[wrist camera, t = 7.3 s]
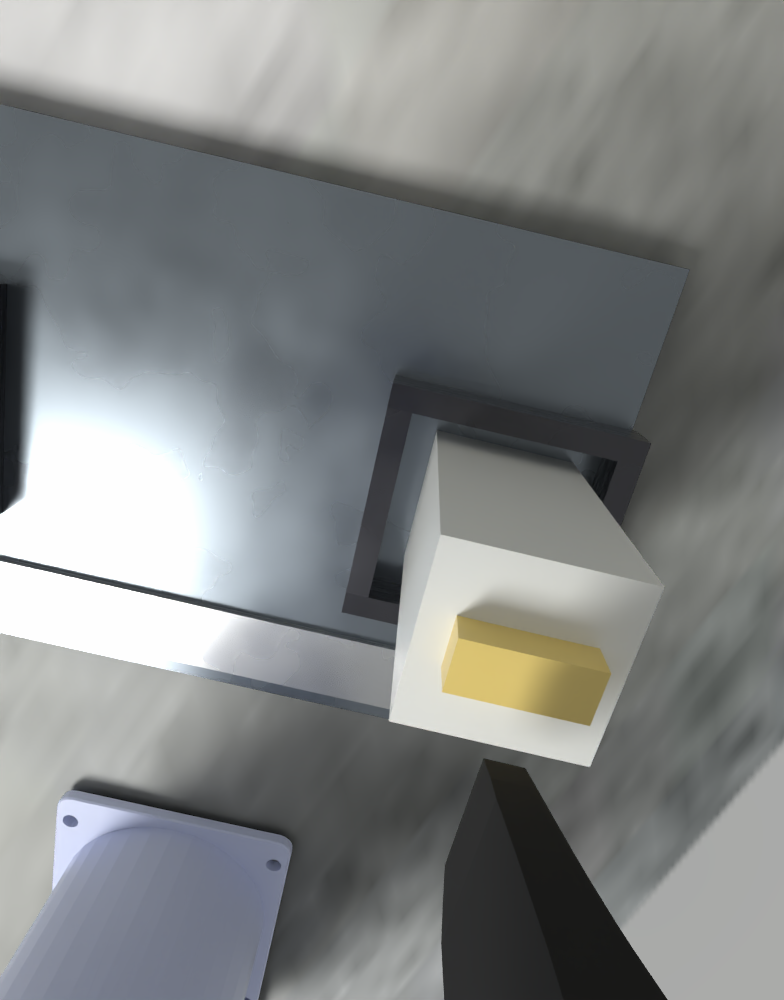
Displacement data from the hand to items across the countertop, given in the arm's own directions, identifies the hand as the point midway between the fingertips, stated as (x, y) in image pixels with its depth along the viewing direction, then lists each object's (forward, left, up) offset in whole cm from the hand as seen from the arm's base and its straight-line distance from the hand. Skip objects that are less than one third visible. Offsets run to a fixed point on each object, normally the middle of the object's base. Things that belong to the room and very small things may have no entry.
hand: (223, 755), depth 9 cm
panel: (+1, +4, -10) cm, 11 cm away
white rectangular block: (+1, -4, -9) cm, 10 cm away
